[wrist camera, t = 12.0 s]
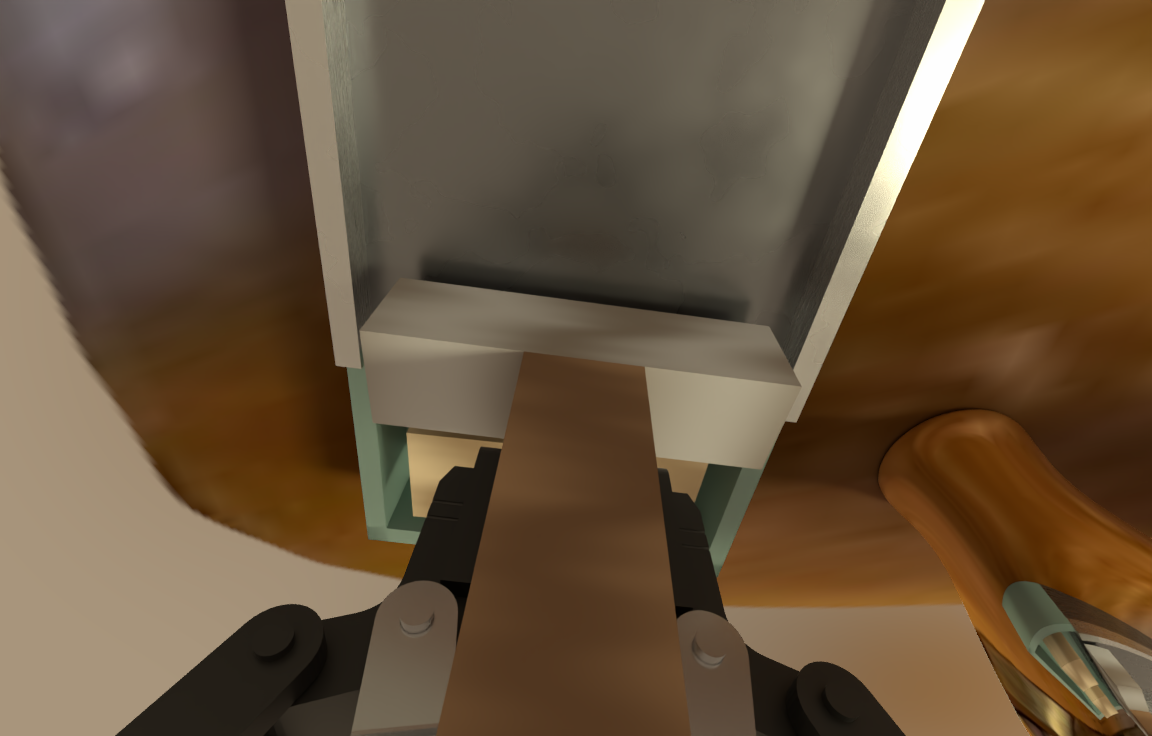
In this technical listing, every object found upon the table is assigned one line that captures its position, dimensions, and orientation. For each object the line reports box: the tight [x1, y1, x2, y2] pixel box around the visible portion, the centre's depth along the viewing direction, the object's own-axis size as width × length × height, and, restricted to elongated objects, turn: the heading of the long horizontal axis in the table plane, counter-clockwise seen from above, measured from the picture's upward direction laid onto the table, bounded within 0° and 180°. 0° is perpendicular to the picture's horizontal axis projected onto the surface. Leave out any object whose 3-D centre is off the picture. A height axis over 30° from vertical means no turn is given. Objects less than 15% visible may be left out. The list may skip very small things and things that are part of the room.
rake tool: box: [359, 278, 802, 736], centre depth 11 cm, size 11×3×12 cm, turn 83°
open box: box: [285, 0, 985, 422], centre depth 14 cm, size 15×15×4 cm
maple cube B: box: [407, 427, 504, 517], centre depth 20 cm, size 4×4×4 cm
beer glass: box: [878, 409, 1152, 736], centre depth 16 cm, size 7×7×15 cm
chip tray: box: [347, 366, 777, 577], centre depth 21 cm, size 15×9×4 cm, turn 83°
